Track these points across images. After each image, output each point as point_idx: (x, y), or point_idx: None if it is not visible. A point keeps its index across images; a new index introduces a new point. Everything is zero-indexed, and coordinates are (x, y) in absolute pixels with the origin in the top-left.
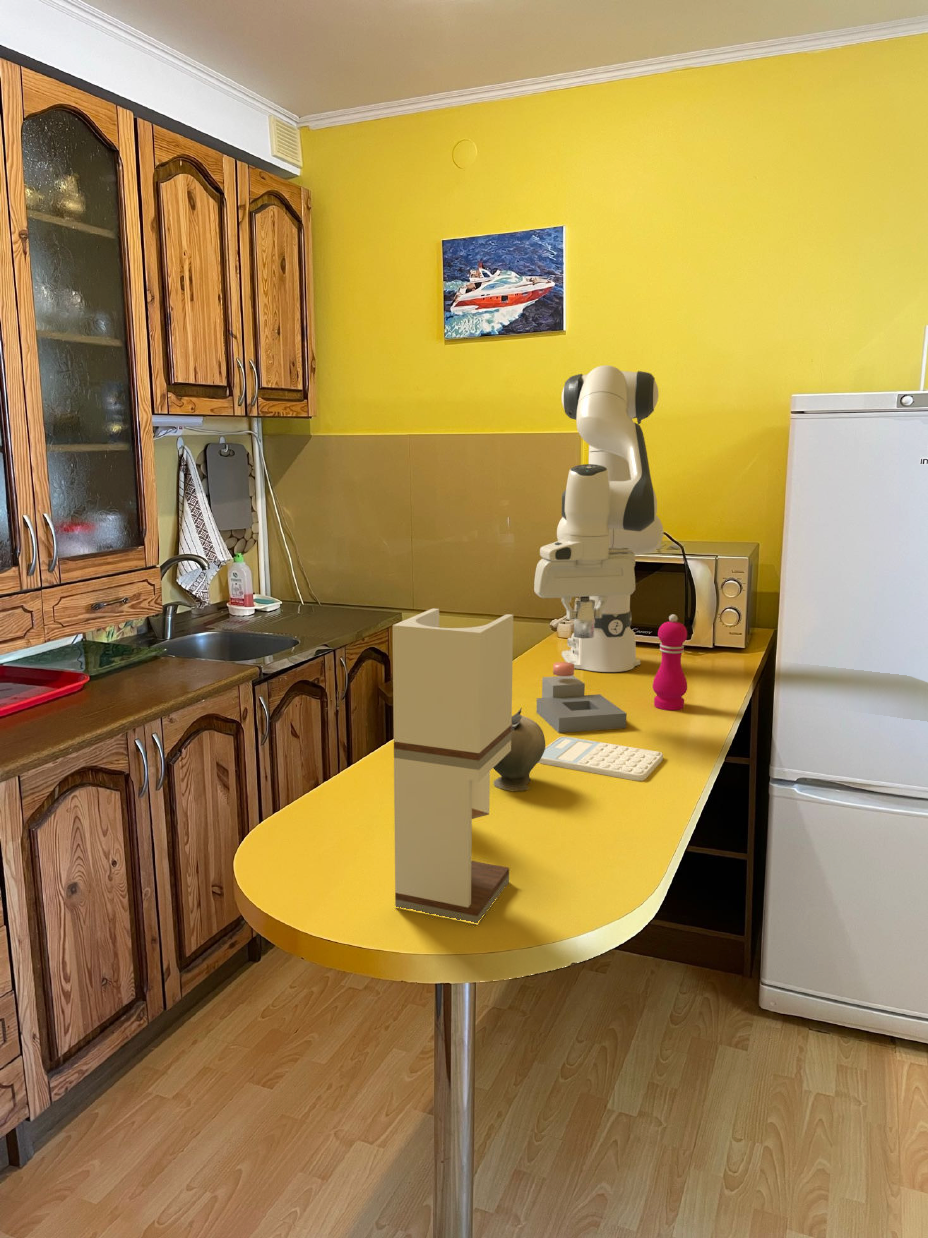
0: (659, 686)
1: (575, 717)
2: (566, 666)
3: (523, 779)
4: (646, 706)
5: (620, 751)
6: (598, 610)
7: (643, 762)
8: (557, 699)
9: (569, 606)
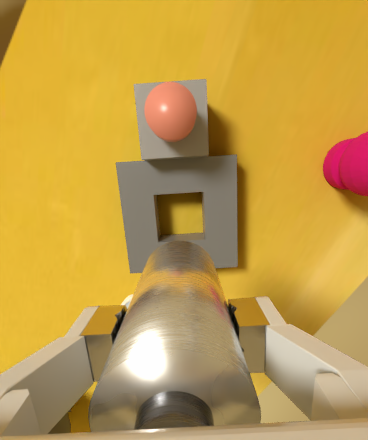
0: (350, 180)
1: None
2: (171, 133)
3: None
4: (310, 158)
5: None
6: (258, 368)
7: None
8: (150, 176)
9: (55, 416)
